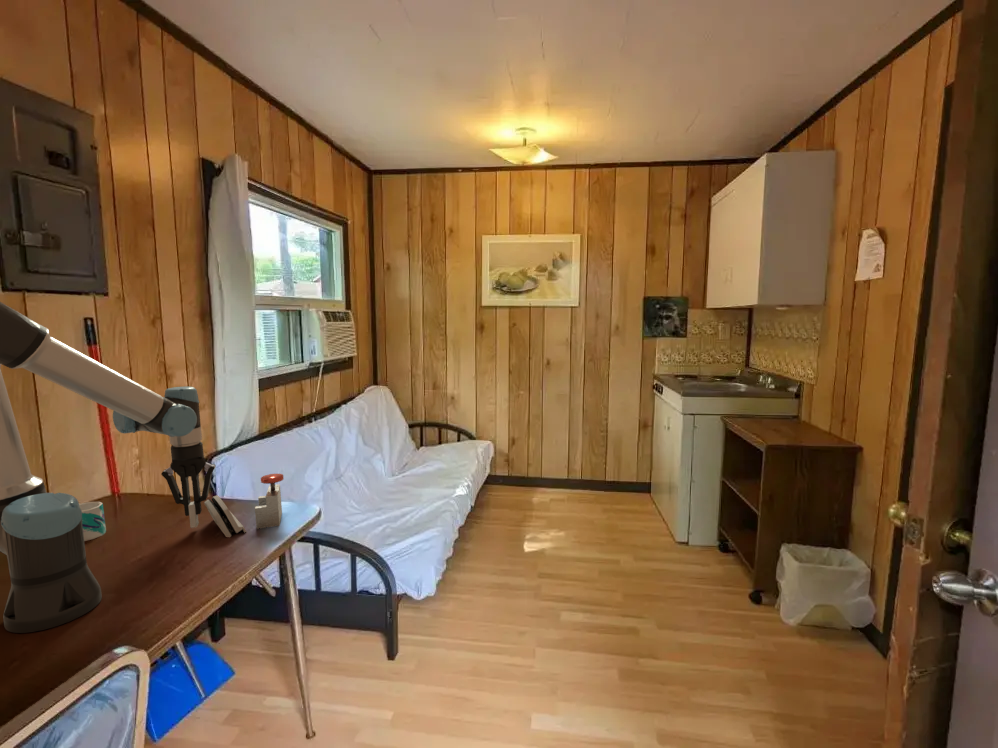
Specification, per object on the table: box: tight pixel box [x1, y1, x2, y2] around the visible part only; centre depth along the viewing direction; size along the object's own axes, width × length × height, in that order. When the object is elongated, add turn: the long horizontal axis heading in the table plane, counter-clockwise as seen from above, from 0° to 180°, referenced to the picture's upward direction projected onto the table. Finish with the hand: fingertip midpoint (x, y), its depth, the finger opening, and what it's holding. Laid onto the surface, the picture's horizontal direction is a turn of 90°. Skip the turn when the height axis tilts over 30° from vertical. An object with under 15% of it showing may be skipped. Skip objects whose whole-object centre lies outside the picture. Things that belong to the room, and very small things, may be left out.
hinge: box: [203, 494, 247, 538], centre depth 144 cm, size 17×5×10 cm, turn 40°
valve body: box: [254, 473, 284, 530], centre depth 148 cm, size 10×8×13 cm
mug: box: [79, 501, 107, 542], centre depth 142 cm, size 8×12×8 cm
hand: (194, 525), depth 143 cm, fingers closed
